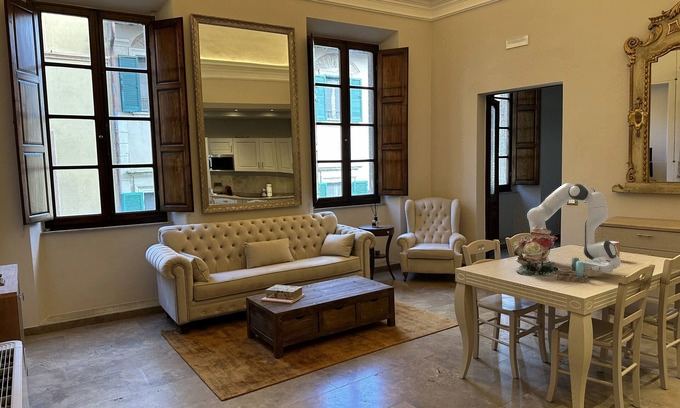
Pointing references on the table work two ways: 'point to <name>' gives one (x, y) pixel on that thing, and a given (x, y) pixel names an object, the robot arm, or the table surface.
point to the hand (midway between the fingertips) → (584, 267)
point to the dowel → (579, 269)
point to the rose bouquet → (535, 252)
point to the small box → (617, 246)
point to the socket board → (571, 277)
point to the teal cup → (573, 270)
